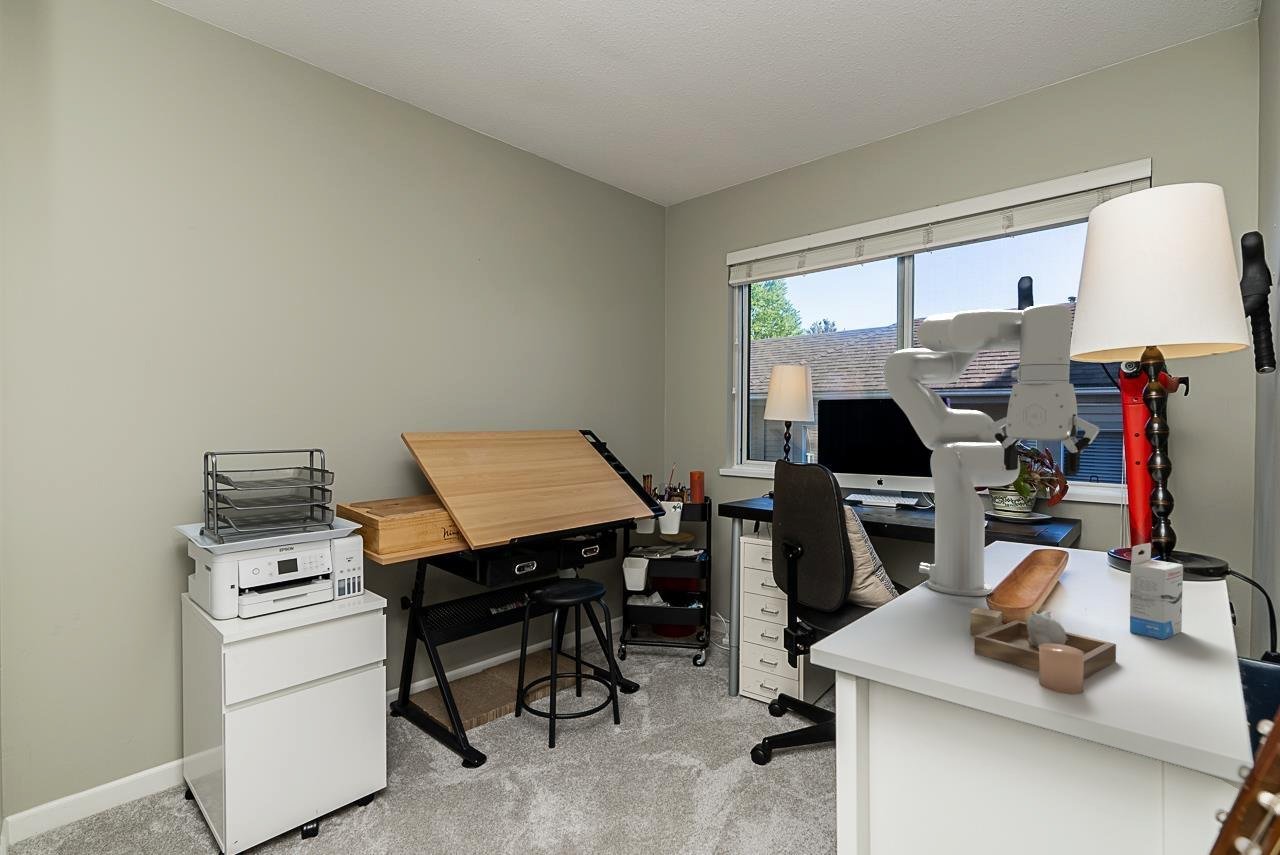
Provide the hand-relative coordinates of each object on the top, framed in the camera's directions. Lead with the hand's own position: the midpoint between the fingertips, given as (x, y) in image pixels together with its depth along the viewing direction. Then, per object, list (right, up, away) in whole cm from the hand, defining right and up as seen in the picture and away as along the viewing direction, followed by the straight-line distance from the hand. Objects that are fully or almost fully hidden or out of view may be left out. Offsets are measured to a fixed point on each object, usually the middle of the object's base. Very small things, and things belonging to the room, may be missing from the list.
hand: (1040, 472), depth 112 cm
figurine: (-10, -27, -16) cm, 32 cm away
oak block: (-13, -27, -6) cm, 31 cm away
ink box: (+17, -27, -4) cm, 33 cm away
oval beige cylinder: (-14, -27, -27) cm, 41 cm away
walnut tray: (-10, -27, -16) cm, 33 cm away
